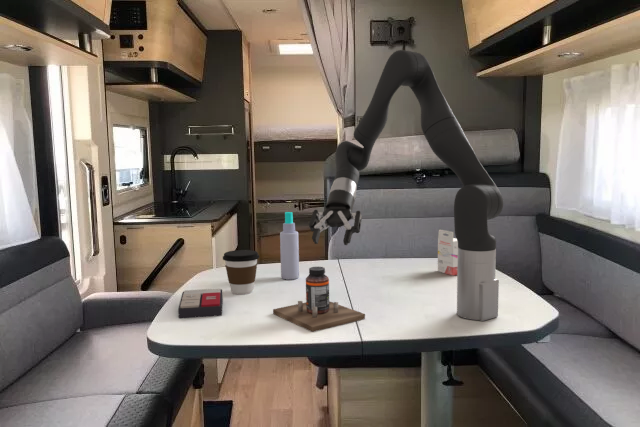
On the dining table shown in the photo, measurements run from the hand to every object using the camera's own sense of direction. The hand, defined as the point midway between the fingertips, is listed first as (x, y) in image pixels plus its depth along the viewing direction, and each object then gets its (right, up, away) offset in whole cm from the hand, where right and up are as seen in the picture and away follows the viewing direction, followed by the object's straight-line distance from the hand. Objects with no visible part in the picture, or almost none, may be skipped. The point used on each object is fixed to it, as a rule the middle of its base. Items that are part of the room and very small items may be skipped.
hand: (330, 242), depth 147 cm
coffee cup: (-26, -16, +17) cm, 35 cm away
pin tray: (-3, -18, -8) cm, 20 cm away
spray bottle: (-13, -14, +34) cm, 39 cm away
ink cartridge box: (+42, -13, +39) cm, 58 cm away
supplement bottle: (-3, -17, -8) cm, 19 cm away
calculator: (-35, -19, 0) cm, 39 cm away
